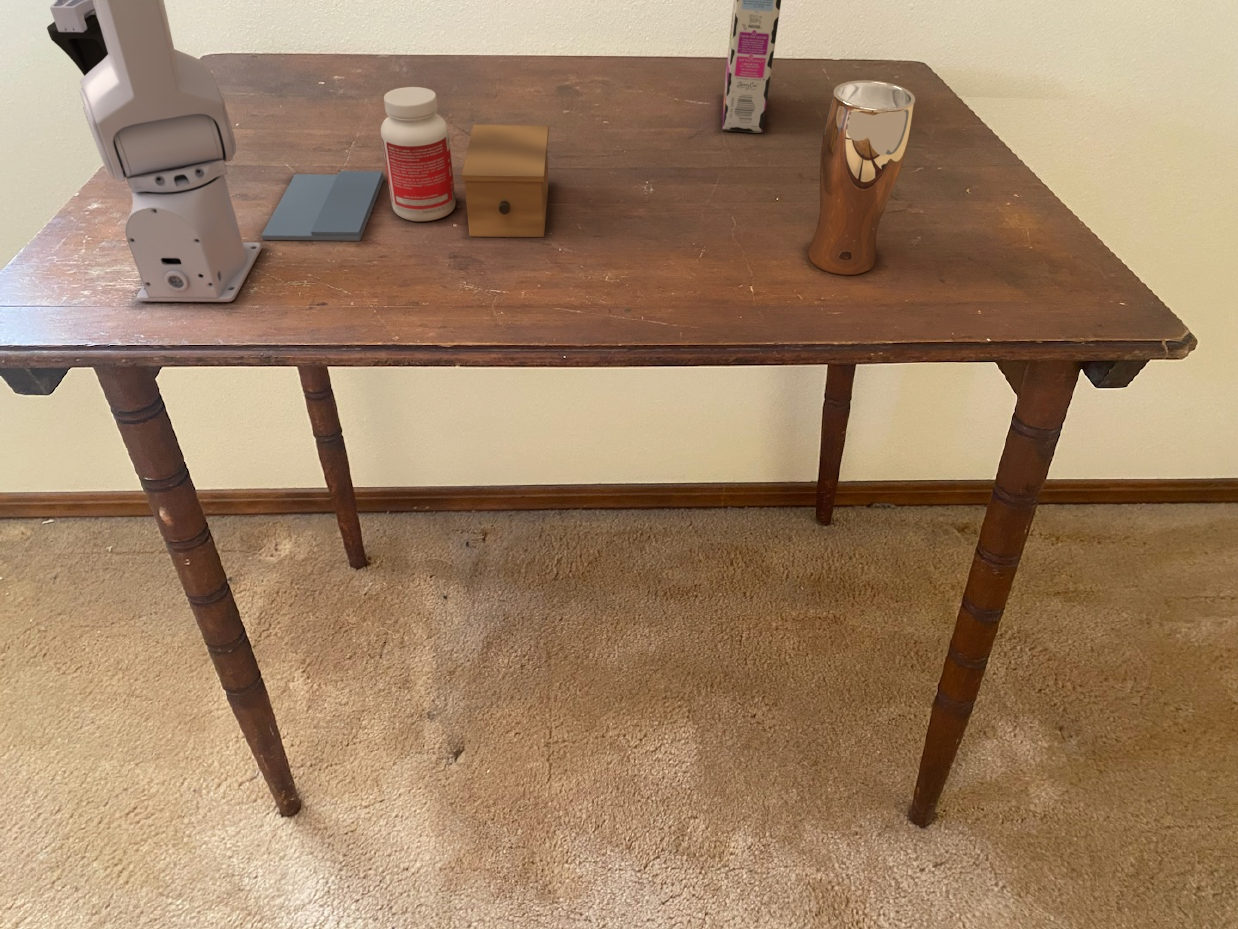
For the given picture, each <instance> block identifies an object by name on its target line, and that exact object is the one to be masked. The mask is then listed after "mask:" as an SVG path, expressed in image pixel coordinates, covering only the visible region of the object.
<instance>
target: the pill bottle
mask: <svg viewBox="0 0 1238 929" xmlns="http://www.w3.org/2000/svg"><path fill="white" fill-rule="evenodd" d="M383 101H384V111H385V114H386V115H387V116H388V117H386V118H385V119H384V120H383V121H382V123H381V126H380V137H381V138H380V139H381V144H382V149H383V150H382V151H383V156H384V162H385V163H384V164H385V169H386V175H387V183H388V188H389V195H390V201H391V202H390V203H391V206H392V211H393V212H394V213H395V214H396V215H397V216H399V217H400V218H402V219H404V220H407V221H410V222H430V221H436V220H439V219H442V218H444V217H446V216H448V215H450V214H451V213H452V212H453V211H454V209H455V207H456V190H455V182H454V171H453V162H452V154H451V144H450V135H449V128H448V124H447V122H446V121H445V119H444V118H443V117H442V116H441V115H440V114H437V113H438V108H439V104H438V98H437V94H436V92H435V91H434V90H432V89H429V88H426V87H419V86H406V87H397V88H394V89H391V90H389V91H387V92H386V93H385V94H384V96H383Z"/></svg>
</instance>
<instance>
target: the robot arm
mask: <svg viewBox="0 0 1238 929" xmlns="http://www.w3.org/2000/svg"><path fill="white" fill-rule="evenodd" d="M49 9H50V13H51V15H52V18H53V22H52V23H50V24H49V25H47V26H46V29H47V33H48V35H49V38H50V40H51V41H52V42H53V43H54V44H56V46H58V47H59V48H60V49H61V50H62V51H63V52H64V53H65V54H66V55H67V56H68V57H69V58H70V59H71V61H72V62H73V63H74V64H75V65H76V67H77V68H78V69H79V70H80V72H81V74H82V75H83V77H82V78H81V79H80V81H79V83H80V85H81V88H80V89H79V94H80V97H81V100H82V103H83V107H82V110H83V112H84V115H85V119H86V121H87V125H88V126H89V129H90V132H91V135H92V138H93V141H94V143H95V145H96V148H97V151H98V154H99V156H100V159H101V161H102V164H103V166H104V169H105V171H106V174H107V176H108V177H109V178H111V179H113V180H115V181H116V183H118V184H120V183H125V182H126V183H127V185H128V187H129V189H130V192H131V197H132V198H131V199H132V200H131V201H132V206H131V210H130V213H129V215H128V217H127V219H126V222H125V226H124V227H125V229H124V233H125V234H124V235H125V238H126V242H127V244H128V247H129V249H130V252H131V255H132V258H133V260H134V263H135V266H136V268H137V271H138V275H139V277H140V279H141V282H142V287H141V288H140V289H139V291H138V293H137V294H136V298H137V300H138V301H139V302H169V303H170V302H171V303H173V302H174V303H175V302H177V303H179V302H180V303H181V302H189V303H193V302H194V303H195V302H196V303H230V302H233V301H234V300H235V299H236V298H237V295H238V294H239V291H240V289H241V288H242V286H243V284H244V282H245V281H246V278H247V276H248V275H249V273H250V271H251V269H252V267H253V266H254V264H255V262H256V260H257V258H258V257H259V254H260V252H261V250H262V248H263V247H262V244H261V243H260V242H256V241H255V242H253V241H251V242H249V241H247V242H244V241H243V237H242V234H241V231H240V228H239V224H238V220H237V216H236V213H235V210H234V206H233V201H232V199H231V196H230V192H229V188H228V184H227V181H226V176H225V175H228V170H227V166H226V163H227V162H231V161H233V159H234V156H235V154H236V152H237V144H236V139H235V133H234V130H233V126H232V123H231V120H230V116H229V113H228V110H227V107H226V102H225V99H224V95H223V94H222V91H221V88H220V86H219V83H218V82H217V79H216V77H215V75H214V73H213V71H212V70H211V69H210V68H208V66H207V64H206V62H205V61H203V60H202V59H200V58H197V57H195V56H192V55H190V54H189V53H185V52H182V51H180V50H177V49H175V46H174V42H173V37H172V33H171V27H170V23H169V19H168V12H167V8H166V4H165V0H55V2H53V4H52V5H50V6H49Z"/></svg>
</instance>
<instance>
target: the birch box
mask: <svg viewBox="0 0 1238 929" xmlns="http://www.w3.org/2000/svg"><path fill="white" fill-rule="evenodd" d="M549 133H550V126H549V125H536V124H535V125H534V124H533V125H527V124H526V125H525V124H473V126H472V129H471V134H470V138H469V142H468V145H467V151H466V155H465V158H464V163H463V166H462V171H461V175H460V178H461V181H462V182H464V192H465V201H466V203H465V204H466V212H467V224H468V233H469V237H476V238H477V237H479V238H480V237H481V238H482V237H483V238H484V237H485V238H486V237H487V238H489V237H490V238H544V237H545V230H546V219H547V207H548V196H549V195H548V193H549V164H548V159H549V158H548V145H549V144H548V143H549Z"/></svg>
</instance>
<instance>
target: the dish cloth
mask: <svg viewBox="0 0 1238 929" xmlns="http://www.w3.org/2000/svg"><path fill="white" fill-rule="evenodd" d="M384 179H385V178H384V172H383V171H382V170H339V171H338V173H337V174H335V173H334V174H327V173H325V174H324V173H323V174H322V173H321V174H320V173H295V174H294V175H293V177H292V179H291V181H290V183H289V184H288V186H287V188H286V190H285V192H284V194H283V195H282V197H281V199H280V200H279V203H278V205H277V207H276V208H275V210H274V212H273V214H272V215H271V217H270V218H269V221H268V222H267V225H266V226H265V228H264V230H263V232H262V234H261V239H262V241H332V242H333V241H334V242H335V241H336V242H337V241H338V242H340V241H341V242H343V241H344V242H345V241H346V242H348V241H349V242H350V241H351V242H352V241H353V242H360V241H361V240H362V237H363V235H364V232H365V229H366V227H367V225H368V222H369V219H370V216H371V213H372V212H373V209H374V206H375V203H376V200H377V198H378V195H379V193H380V190H381V187H382V185H383V183H384Z"/></svg>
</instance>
